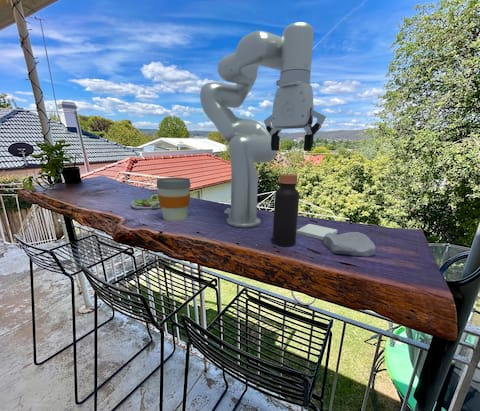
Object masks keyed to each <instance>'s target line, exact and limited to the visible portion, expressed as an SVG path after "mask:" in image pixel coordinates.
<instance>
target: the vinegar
mask: <svg viewBox="0 0 480 411" xmlns="http://www.w3.org/2000/svg"><path fill="white" fill-rule="evenodd" d="M278 176H279V179H278V183H279V188H278V189H277V190H276V191H275V192H274V206H273V226H272V243H273V244H275V245H277V246H279V247H292V246H295V245H296V240H297V233H296V231H297V230H298V229H297V227H298V216H299V204H300V192H299V191H298V190H297V188H296V185H297V183H298V175H297V174H290V173H289V174H288V173H286V174H285V173H282V174H279V175H278Z"/></svg>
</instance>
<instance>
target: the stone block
mask: <svg viewBox="0 0 480 411" xmlns="http://www.w3.org/2000/svg"><path fill="white" fill-rule="evenodd" d="M322 242H323V243H322V244H323V245H324V246H325V247H326V248H328V249H329V250H330V252H331V253H332V254H338V255H339V254H340V255H347V256H348V255H349V256H353V257H354V256H355V257H356V256H357V257H364V258H367V257H371V256H372V257H373V256H375V255H376V245H375V243H374V242H373V241H372V240H371V238H370V237H368V236H367V235H366V234H364V233H362V232H358V231H351V232H344V233H340V234H337V233H336V234H332V233H327V234H326V235H325V236H324V238H323V240H322Z"/></svg>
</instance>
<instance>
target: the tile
mask: <svg viewBox="0 0 480 411" xmlns="http://www.w3.org/2000/svg"><path fill="white" fill-rule="evenodd" d="M327 233H332V234H337V233H338V229H336V228H335V229H334V228H330V227H326V226H322V225H318V224H312V223H308V224H306V225H304V226H302V227H300V228H299V229H297V231H296V234H297V235H302V236H307V237H311V238H314V239H319V240H322V241H323V238H324V236H325V235H326V234H327Z"/></svg>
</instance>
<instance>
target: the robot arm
mask: <svg viewBox="0 0 480 411" xmlns="http://www.w3.org/2000/svg"><path fill="white" fill-rule="evenodd" d="M313 45H314V28H313V27H312V25H311V24H309V23H307V22H303V21H298V22H292V23H290V24H288V25H287V26H286V27H285V28H284V30H283V32H282V35H281V36H279V35H277V34H274V33H271V32H268V31H264V30H256V31H252V32H250V33H249V34H246V35H244V36H242V38H241V39H240V40H239V42H238V44H237V46H236V48H235V51H234V52H232V53H230V54H227V55H225V56H223V57H222V58H221V59H220V60H219V62H218V65H217V73H218V75H219V77H220V78H221V79H222V80H223V81H225V82H227V83H224V82H219V81H218V82H217V81H210V82H206V83H204V84H203V86H201V88H200V92H199V97H200V99H199V100H200V105H201V107H202V110H203V112H204V114H205V115H206V116H207V118H208V119H209V120H210V121H211V122H212V124H214V126H215V128H216V129H217V130H218V132H219V133H220V135H221V137H222V139H223V140H224V141H225V142H226V143H228V155H229V160H230V170H231V172H230V177H231V178H230V180H231V182H230V184H231V186H230V207H227V208H226V209H225V210H224V212H223V213H224V214H225V215H228V217H227V218H226V224H227V225H229V226H231V227H235V228H254V227H257V226H259V225H260V224H261V219H260V218H259V217H258V216H257V215H258V208H257V207H258V189H259V188H258V187H259V186H258V184H259V183H258V182H259V181H258V180H259V174H258V171H257V169H256V166H255V165H254V164H255V163H268V162H271V161H272V160H274V158H276V155H277V152H278V151H279V150H280V142H281V141H280V140H281V137H280V136H279V134H280V133H281V132H282V131H283V130H292V129H295V130H296V129H303V130H304V131H305V132H306V134H304V140H303V152H311V151H312V149H313V147H314V136H315V135H317V133H318V131H319V130H320V129H321V128H322V125H323V124H324V122H325V120H326V115H324V114H323V113H320V112H318V111H316V110H315V109H314V93H313V86H312V85H311V73H312V72H311V71H312V60H313V59H312V58H313V47H314V46H313ZM259 67H265V68H270V69H272V70H277V71H280V72H279V74H280V75H279V79H278V80H276V81H275V85H276V86H277V88H276V91H275V94H274V98H273V105H272V113H271V115H269V116H268V117H266V118H265V119H264V120H263V123H264V125H262V123H260V122H259V121H258V120H256V119H251V118H250V119H249V118H242V117H238V116H236V114H235V113H234V112H233V110H231V109H236V108H239V107H241V106H242V105H243V103H244V102H245V100H246V98H247V96H248V94H249V93H250V92H251V90H252V88H253V87H254V84H255V82H256V79H257V77H258V72H259V71H258V70H259ZM228 83H232V84H228ZM278 86H279V87H278ZM230 108H231V109H230ZM314 118H315V119H316V122H315V123H314V125H313V122H314ZM312 125H313V126H312ZM265 127H266V128H265Z"/></svg>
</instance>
